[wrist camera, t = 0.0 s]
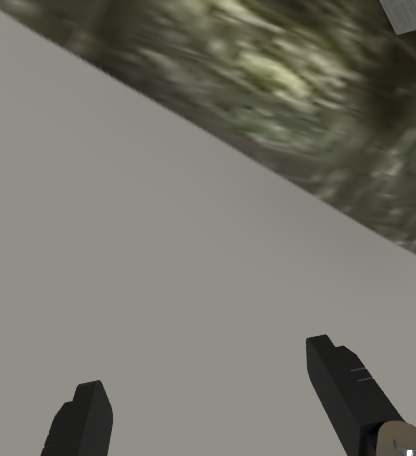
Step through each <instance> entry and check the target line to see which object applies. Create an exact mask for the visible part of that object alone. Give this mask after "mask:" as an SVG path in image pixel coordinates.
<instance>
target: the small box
mask: <svg viewBox="0 0 416 456" xmlns="http://www.w3.org/2000/svg"><path fill="white" fill-rule="evenodd" d="M379 1H380V3H381V5H382V7H383V9H384V11H385V13H386V15H387V17H388V19H389V21H390V23H391V25H392V27H393V29H394V31H395V33H396V35H400V34H403V33H407V32H410V31H414V30H416V0H379Z"/></svg>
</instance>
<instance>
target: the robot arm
mask: <svg viewBox="0 0 416 456" xmlns="http://www.w3.org/2000/svg"><path fill="white" fill-rule="evenodd" d="M306 353H307V370H308V374H309V378H310V380H311V383H312V385H313V387H314V389H315V391H316V393H317V395H318V397H319V399H320V401H321V403H322V405H323V407H324V409H325V411H326V413H327V415H328V417H329V419H330V421H331V423H332V425H333V427H334V429H335V431H336V433H337V435H338V437H339V440H340V442H341V443H342V445H343V448H344V450H345V451H346V454H347V456H416V427H415V426H413V425H411V424H408V423H406V422H405V421H404V420H403V418H402V417H401V416H400V414H399V413H398V412H397V410H396V409H395V408H394V406H393V405H392V403H391V402H390V401H389V399H388V398H387V397H386V395H385V394H384V392H383V391H382V390H381V388H380V387H379V386H378V384H377V383H376V381H375V380H374V379H373V378H372V376H371V374H370V373H369V372H368V370H367V369H365V366H364V365H363V363H362V362H361V361H360V359H359V358H358V357H357V355H356V354H354V353H353V352H352V351H350V350H349V349H348V348H346V347H345V346H339V347H335V346H334V345H333V343H332V342H331V340H330V339H329V337H328V336H327V335H320V336H315V337H310V338H307V339H306ZM112 425H113V412H112V407H111V404H110V402H109V400H108V397H107V395H106V392H105V390H104V387H103V385H102V382H101V381H100V380H97V381H92V382H87V383H83V384H79V385H78V386H77V388H76V391H75V395H74V398H73V401H70V402H66V403H64V405H63V406H62V407H61V409H60V410H59V411H58V413H57V414H56V416H55V417H54V420H53V422H52V425H51V428H50V431H49V435H48V436H47V439H46V442H45V444H44V445H45V447H44V448H43V450H42V453H41V456H107V454H108V448H109V443H110V436H111V431H112Z"/></svg>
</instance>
